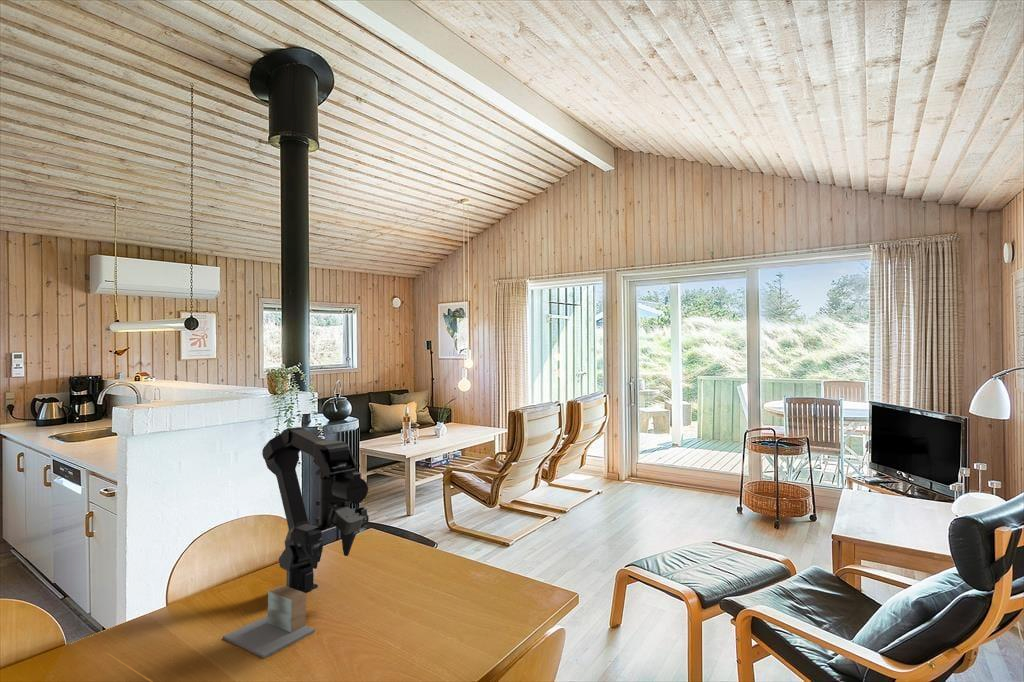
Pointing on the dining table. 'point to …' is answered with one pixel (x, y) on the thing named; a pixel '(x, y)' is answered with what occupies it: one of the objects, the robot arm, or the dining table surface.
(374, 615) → the dining table surface
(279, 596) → the light brown wooden block
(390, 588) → the dining table surface
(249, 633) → the rubber mat
